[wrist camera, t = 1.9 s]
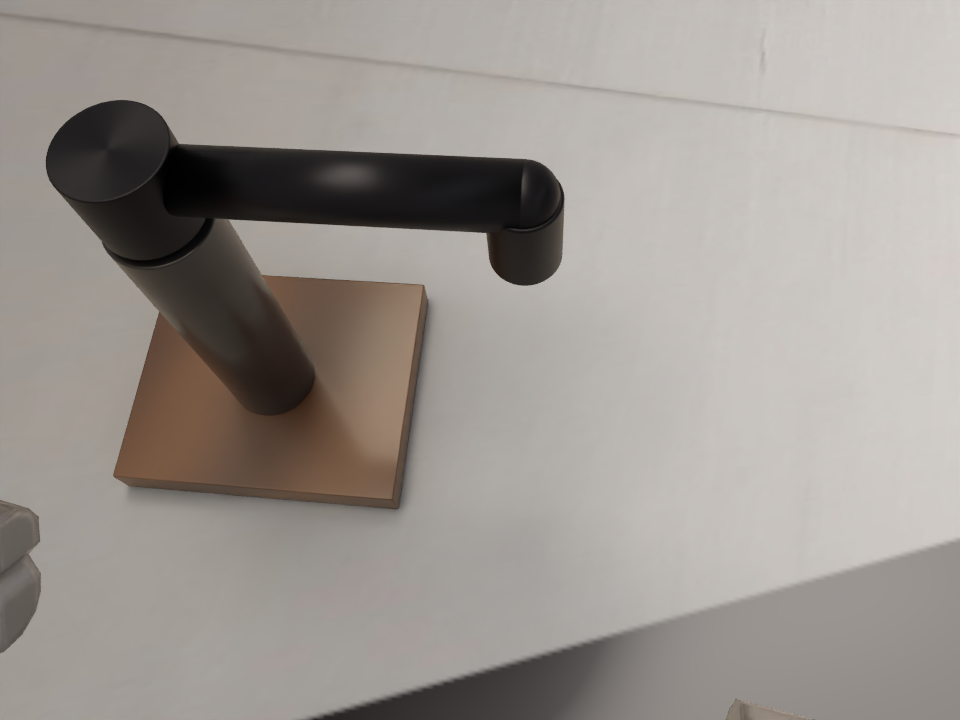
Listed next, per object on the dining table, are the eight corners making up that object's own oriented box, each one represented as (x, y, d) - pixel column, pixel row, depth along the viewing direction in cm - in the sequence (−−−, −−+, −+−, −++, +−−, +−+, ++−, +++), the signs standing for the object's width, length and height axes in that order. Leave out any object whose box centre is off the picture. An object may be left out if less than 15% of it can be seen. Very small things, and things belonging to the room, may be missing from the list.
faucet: (127, 486, 38) (-86, 353, 25) (182, 284, 42) (23, 82, 29) (398, 509, 36) (320, 383, 24) (428, 299, 40) (375, 94, 28)
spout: (104, 279, 27) (28, 199, 23) (133, 187, 28) (66, 96, 24) (558, 306, 25) (561, 226, 21) (565, 209, 27) (569, 116, 23)
